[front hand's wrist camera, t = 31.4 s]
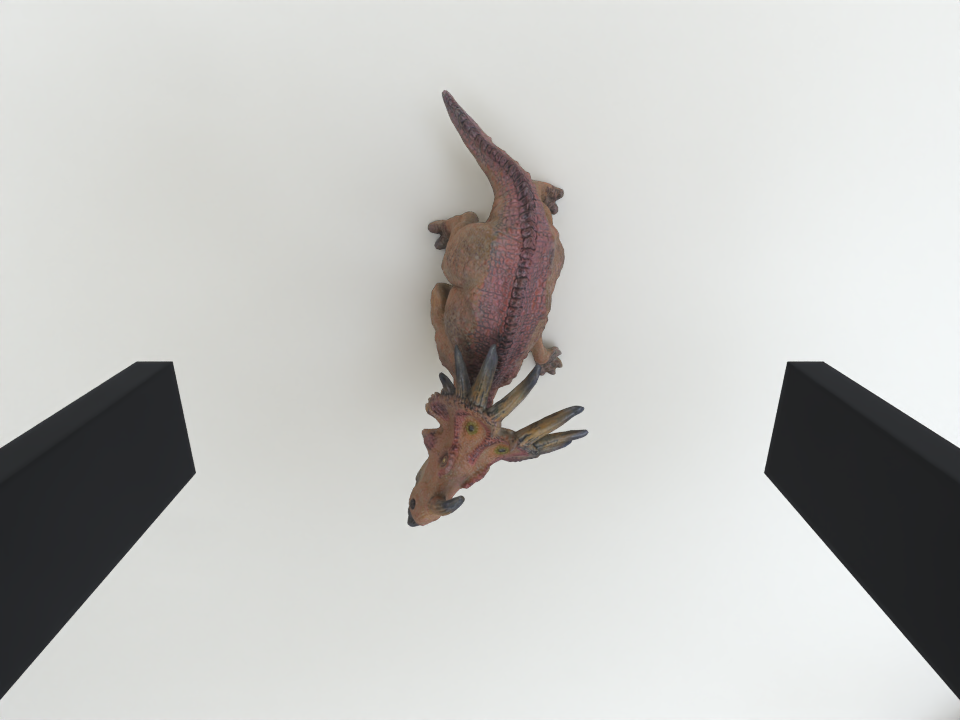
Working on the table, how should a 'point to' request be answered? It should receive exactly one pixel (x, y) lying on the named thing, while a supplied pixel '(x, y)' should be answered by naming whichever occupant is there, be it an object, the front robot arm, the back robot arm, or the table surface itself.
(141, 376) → the front robot arm
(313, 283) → the table surface
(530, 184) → the dinosaur figurine
